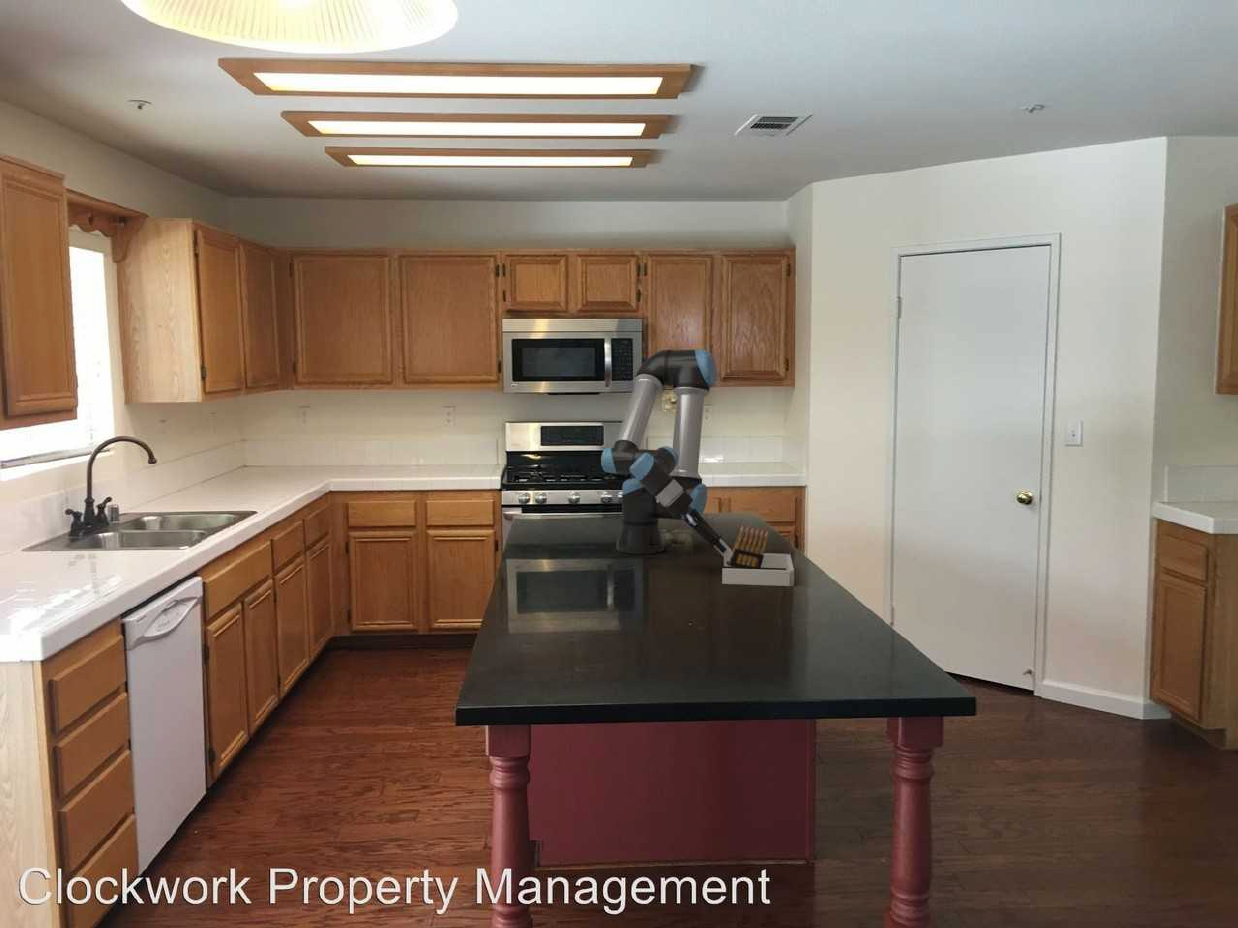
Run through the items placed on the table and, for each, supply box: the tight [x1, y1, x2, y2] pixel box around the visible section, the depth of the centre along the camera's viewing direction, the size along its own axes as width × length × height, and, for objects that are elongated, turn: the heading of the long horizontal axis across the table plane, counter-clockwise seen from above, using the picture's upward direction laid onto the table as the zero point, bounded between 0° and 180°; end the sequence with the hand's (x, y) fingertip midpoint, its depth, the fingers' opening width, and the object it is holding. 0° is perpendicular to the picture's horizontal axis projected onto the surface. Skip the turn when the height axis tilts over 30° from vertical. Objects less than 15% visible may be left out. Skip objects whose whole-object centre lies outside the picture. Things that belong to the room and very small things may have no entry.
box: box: [721, 552, 795, 587], centre depth 261 cm, size 22×19×4 cm
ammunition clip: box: [727, 525, 769, 570], centre depth 263 cm, size 11×2×12 cm, turn 118°
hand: (733, 558), depth 261 cm, fingers closed
